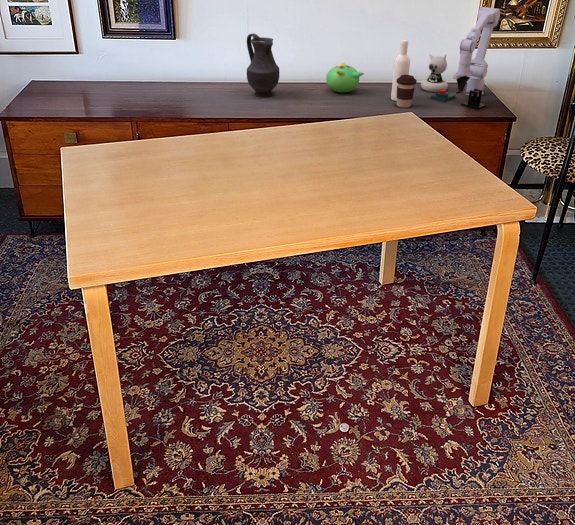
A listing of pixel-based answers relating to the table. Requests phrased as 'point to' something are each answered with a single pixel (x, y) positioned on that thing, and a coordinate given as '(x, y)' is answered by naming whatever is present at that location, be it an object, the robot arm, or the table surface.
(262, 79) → the pitcher
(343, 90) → the toy bird
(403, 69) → the bottle
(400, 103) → the coffee cup
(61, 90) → the table surface
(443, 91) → the stop button
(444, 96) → the button box
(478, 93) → the lever
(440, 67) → the decorative figurine
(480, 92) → the bracket
